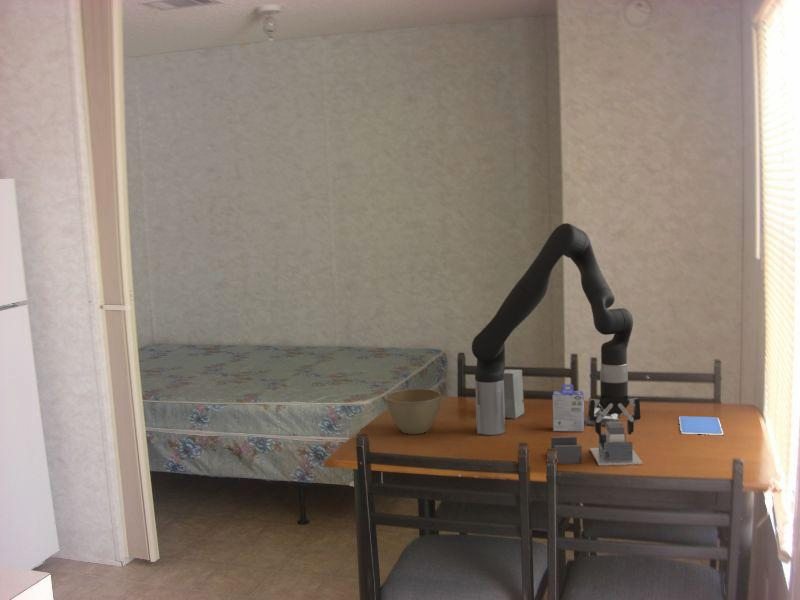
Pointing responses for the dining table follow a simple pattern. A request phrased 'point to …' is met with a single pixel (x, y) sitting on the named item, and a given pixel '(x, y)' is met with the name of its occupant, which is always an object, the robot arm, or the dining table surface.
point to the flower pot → (414, 409)
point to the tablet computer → (700, 425)
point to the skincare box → (513, 393)
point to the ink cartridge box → (568, 410)
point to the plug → (615, 432)
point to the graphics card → (605, 419)
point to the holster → (567, 449)
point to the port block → (615, 453)
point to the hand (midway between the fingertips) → (614, 434)
